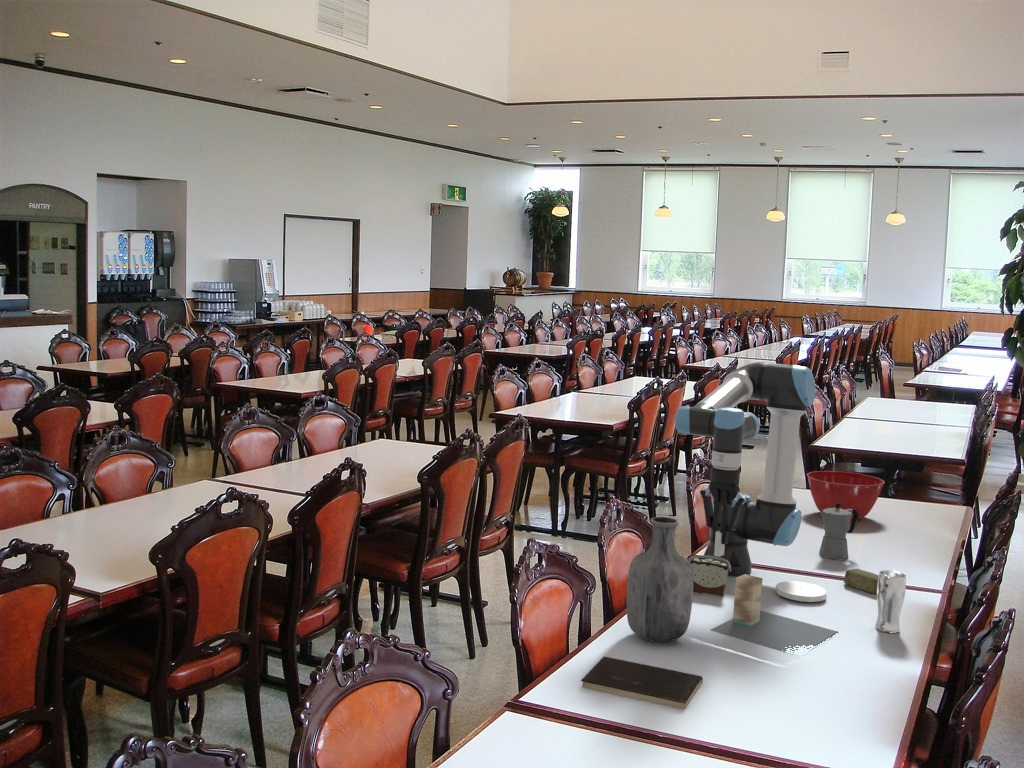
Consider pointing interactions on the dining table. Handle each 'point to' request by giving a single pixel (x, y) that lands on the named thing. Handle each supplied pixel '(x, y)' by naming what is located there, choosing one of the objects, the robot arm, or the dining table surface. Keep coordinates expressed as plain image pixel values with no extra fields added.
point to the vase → (660, 587)
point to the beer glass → (890, 599)
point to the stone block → (862, 580)
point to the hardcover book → (642, 682)
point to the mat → (777, 632)
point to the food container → (709, 574)
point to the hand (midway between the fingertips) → (718, 555)
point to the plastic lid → (801, 591)
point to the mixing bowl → (844, 490)
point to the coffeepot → (837, 531)
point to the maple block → (747, 600)
